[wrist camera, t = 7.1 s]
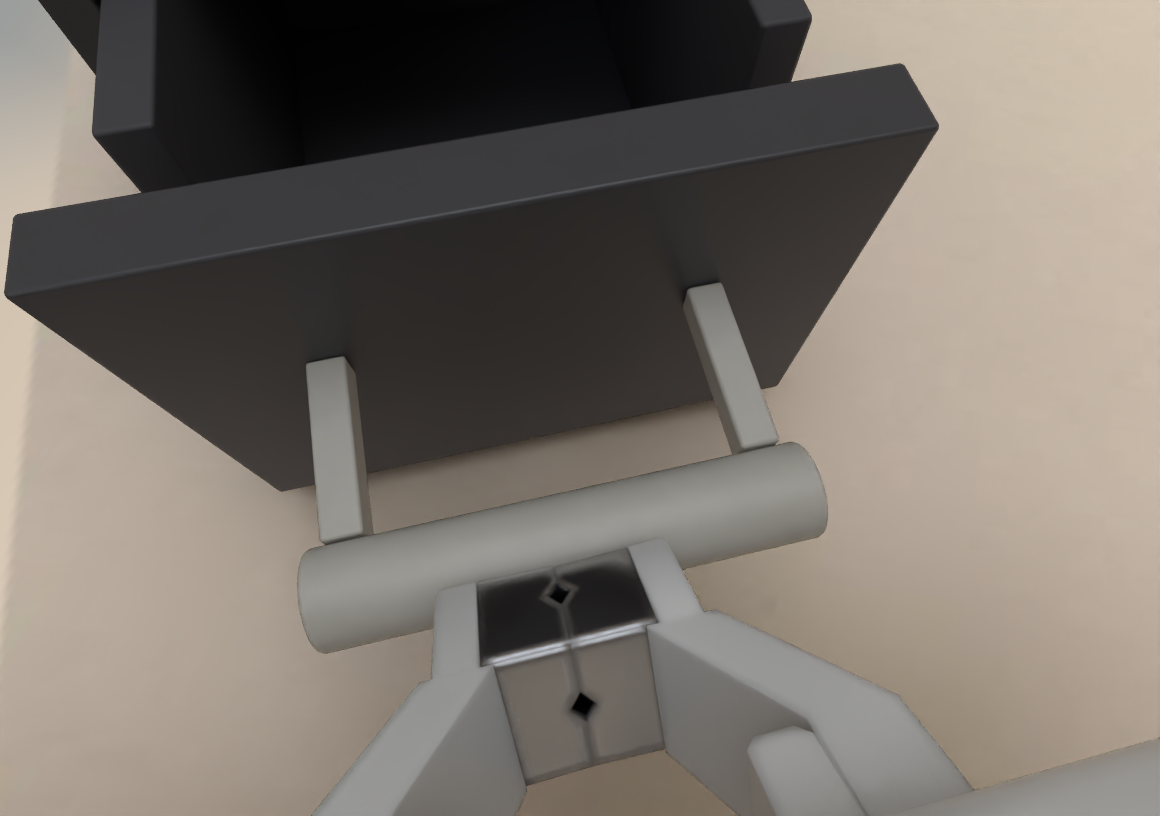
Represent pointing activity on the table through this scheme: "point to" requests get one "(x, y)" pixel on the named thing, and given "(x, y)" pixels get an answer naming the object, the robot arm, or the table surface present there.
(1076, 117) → the table surface
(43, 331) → the table surface
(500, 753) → the robot arm
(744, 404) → the drawer
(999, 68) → the table surface
